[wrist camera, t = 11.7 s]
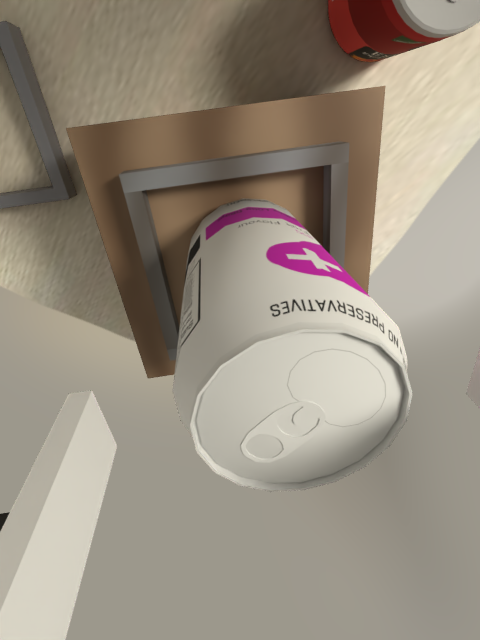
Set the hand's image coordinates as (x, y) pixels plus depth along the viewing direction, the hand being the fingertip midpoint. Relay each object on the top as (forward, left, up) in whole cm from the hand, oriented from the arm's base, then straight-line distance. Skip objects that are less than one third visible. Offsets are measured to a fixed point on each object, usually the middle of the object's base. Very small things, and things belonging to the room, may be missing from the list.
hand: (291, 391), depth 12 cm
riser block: (0, 0, -26) cm, 26 cm away
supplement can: (0, 0, -14) cm, 14 cm away
